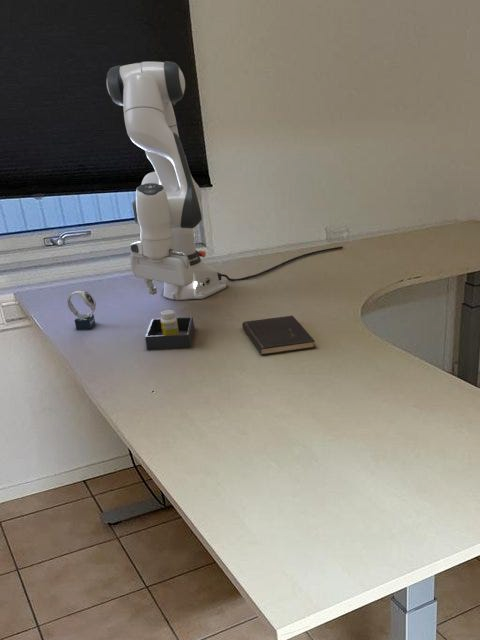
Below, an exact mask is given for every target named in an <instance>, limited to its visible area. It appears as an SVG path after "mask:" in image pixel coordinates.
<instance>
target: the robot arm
mask: <svg viewBox="0 0 480 640" xmlns="http://www.w3.org/2000/svg"><path fill="white" fill-rule="evenodd" d="M106 89H107V92H108V94H109V96H110V98H111V100H112V102H113V103H115V104H116V105H117V106H121V107H122V108H123V119H124V125H125V129H126V133H127V136H128V137H129V139H130V140H131V142H132V143H133V144H134V145H136V146H137V147H139V148H141V149H142V150H144V153H145V156H146V158H147V159H148V161H149V162H150V163H151V165H152V167H153V169H154V171H151V172H149V173H147V174H146V175H144V177H143V179H142V181H141V184H140V185H139V186H138V187H136V190H135V198H134V200H133V201H132V203H131V205H132V209H133V211H132V212H133V217H134V222H135V223H136V224H137V225H138V226H139V227H140V233H139V235H140V236H139V238H140V240H139V241H135V242H133V243H129V244H128V251H129V252H130V255H129V261H130V268H131V272H132V274H133V276H134V277H136V278H140V279H143V283H144V284H145V286H146V288H147V290H148V294H149V295H157V293H158V291H157V287H156V286H155V285H154V283H153V281H155V282H161V283H163V294H162V296H163V297H164V298H167V299H169V300H176V301H179V300H180V301H181V300H183V301H184V300H203V299H205V298H207V297H210V296H211V295H214V294H216V293H218V292H220V291H222V290H224V289H226V288H227V284H226V283H225V282H223V281H222V277H224V278H226V279H227V281H230V282H236V281H245V280H248V279H252V278H256V277H260V276H261V275H264V274H266V273H269V272H270V271H273V270H275V269H277V268H280V267H281V266H283V265H287V264H288V263H290V262H293V261H295V260H298V259H301V258H303V257H307V256H311V255H315V254H319V253H324V252H329V251H334V250H340V249H343V248H344V247H343V246H336V247H330V248H325V249H324V248H323V249H319V250H316V251H311V252H308V253H304V254H301V255H298V256H295V257H293V258H290V259H288V260H286V261H283V262H281V263H279V264H277V265H275V266H273V267H270V268H268V269H266V270H262V271H260V272H259V273H256V274H253V275H252V274H251V275H247V276H245V277H240V278H230V277H229V276H228V275H227V274H224V273H221V272H218V271H217V270H216V269H215V268H214V267H211V266H210V265H208V264H207V263H205V262H204V261H203V260H202V259H201V258H205V257H206V256H207V252H206V251H205V250H197V249H196V242H195V234H194V228H196V227H197V226H198V225H199V224H200V223H201V222H202V220H203V205H202V204H201V202H202V199H203V197H202V190H201V188H200V186H199V184H198V183H197V182H196V181H195V179H194V177H193V176H192V173H191V170H190V167H189V164H188V160H187V156H186V154H185V150H184V148H183V147H184V146H183V144H182V141H181V139H180V135H179V130H178V125H177V119H176V115H175V111H174V106H176V105H177V102H180V101H182V99H183V97H184V96H185V90H186V79H185V75H184V73H183V71H182V70H181V67H180V66H179V65H178V64H177V63H176V62H174V61H169V60H168V61H167V60H164V61H141V62H135V63H130V64H125V65H120V64H118V65H115V66H112V67H110V68H109V70H108V71H107V72H106Z"/></svg>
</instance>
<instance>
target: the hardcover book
mask: <svg viewBox="0 0 480 640" xmlns="http://www.w3.org/2000/svg"><path fill="white" fill-rule="evenodd" d="M242 329H243V330H244V332H245V334H247V336H248V338H249V339H250V341H251V342H252V344H253V345H254V347H255V348H256V349H257V351H258V353H259V354H260V355H261V356H263V357H264V356H269V355H270V356H271V355H278V354H286V353H291V352H298V351H305V350H312V349H316V346H315V345H314V343H315V342H316V341H315V339H314V338H313V337H312V335H310V333H309V332H308V331H307V330H306V329H305V328H304V327H303V326H302V324H301V323H300V322H299V321H298V320H297V319H296V317H294V315H286V316H285V315H284V316H279V317H278V316H277V317H271V318H262V319H254V320H247V321H243V322H242Z"/></svg>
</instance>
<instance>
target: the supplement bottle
mask: <svg viewBox="0 0 480 640" xmlns="http://www.w3.org/2000/svg"><path fill="white" fill-rule="evenodd" d="M177 318H178V317H176V312H175V310H174V309H173V310H172V309H165V310H162V311H161V312H160V319H161V327H162V332H161V333H162V334H161V335H180V331H179V330H178V323H177Z"/></svg>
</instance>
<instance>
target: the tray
mask: <svg viewBox="0 0 480 640" xmlns="http://www.w3.org/2000/svg"><path fill="white" fill-rule="evenodd" d="M176 318H177V323H178V330H179V332H185V331H186V333H185V334H184V333H183V334H179V335H163V334H160V335H156V333H162V327H161V318H151V320H150V323H149V325H148V328H147V330H146V333H145V336H144V338H145V339H144V340H145V345H146V350H147V351H156V350H157V351H159V350H177V349H191V347H192V343H193V339H194V338H193V337H194V334H195V322H194V316H186V317H176Z"/></svg>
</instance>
